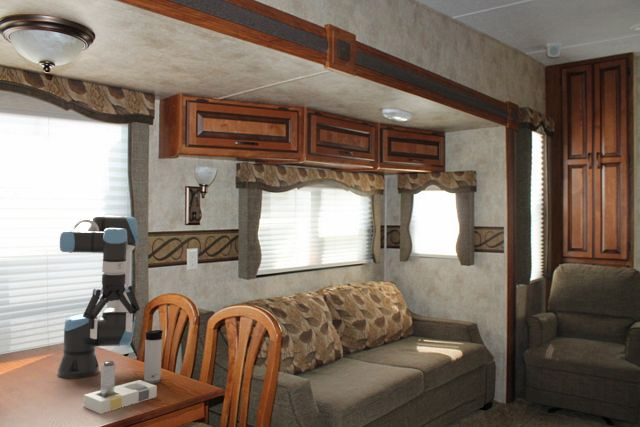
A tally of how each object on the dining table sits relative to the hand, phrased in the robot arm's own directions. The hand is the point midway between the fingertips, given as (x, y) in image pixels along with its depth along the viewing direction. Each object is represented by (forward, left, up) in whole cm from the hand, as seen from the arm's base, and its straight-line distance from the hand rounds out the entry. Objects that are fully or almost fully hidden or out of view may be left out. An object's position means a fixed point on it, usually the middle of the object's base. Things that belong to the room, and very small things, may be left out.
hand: (111, 334), depth 189 cm
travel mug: (-9, +25, -24) cm, 35 cm away
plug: (+2, -2, -24) cm, 24 cm away
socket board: (+2, +4, -24) cm, 24 cm away
